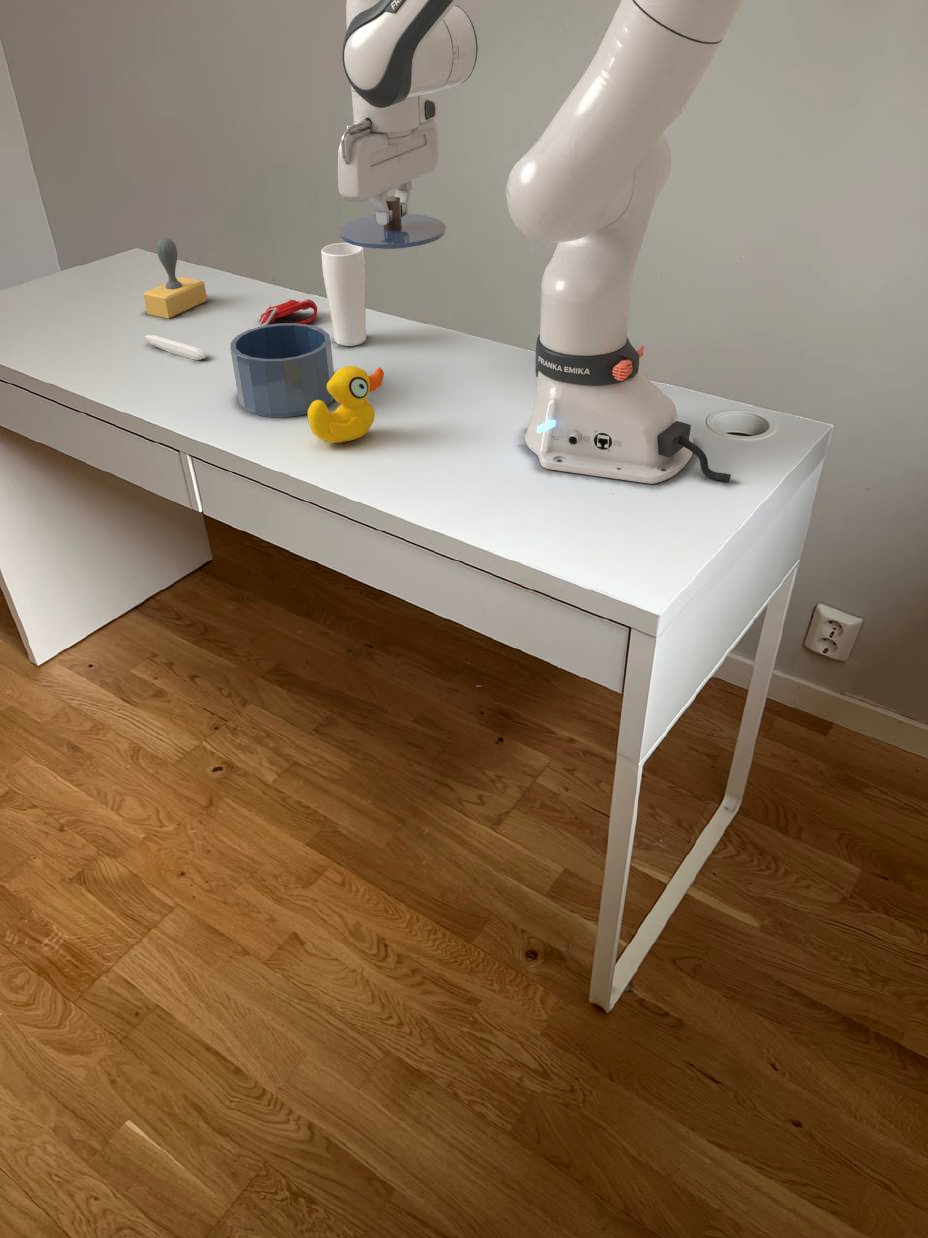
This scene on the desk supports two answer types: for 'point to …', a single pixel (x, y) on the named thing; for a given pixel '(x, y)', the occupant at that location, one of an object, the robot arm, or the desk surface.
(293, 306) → the tracker holder
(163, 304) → the rubber stamp
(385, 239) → the lid
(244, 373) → the pot
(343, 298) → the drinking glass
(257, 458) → the desk surface
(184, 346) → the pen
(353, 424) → the duckling
